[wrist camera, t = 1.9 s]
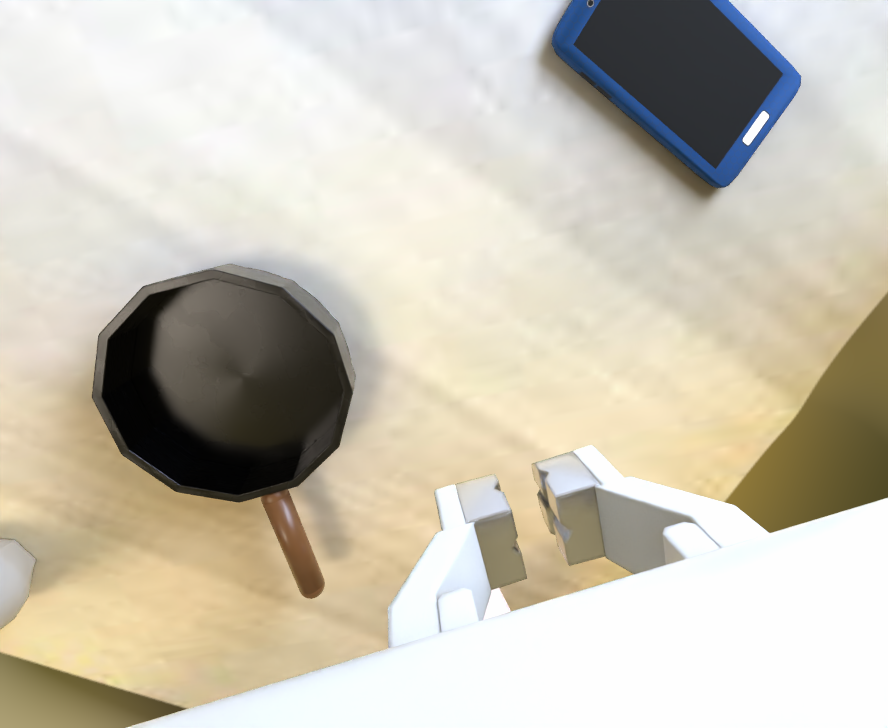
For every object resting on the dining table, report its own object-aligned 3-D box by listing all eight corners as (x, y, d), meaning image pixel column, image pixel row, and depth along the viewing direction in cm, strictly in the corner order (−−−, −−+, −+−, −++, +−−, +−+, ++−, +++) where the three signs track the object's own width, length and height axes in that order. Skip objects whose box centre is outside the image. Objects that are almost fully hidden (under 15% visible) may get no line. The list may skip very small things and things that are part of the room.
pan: (89, 298, 26) (45, 310, 23) (314, 242, 27) (305, 245, 24) (231, 590, 33) (214, 632, 30) (408, 539, 34) (412, 575, 30)
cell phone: (718, 193, 29) (726, 193, 28) (543, 46, 26) (548, 40, 25) (797, 83, 28) (808, 79, 27) (625, -90, 24) (632, -99, 23)
